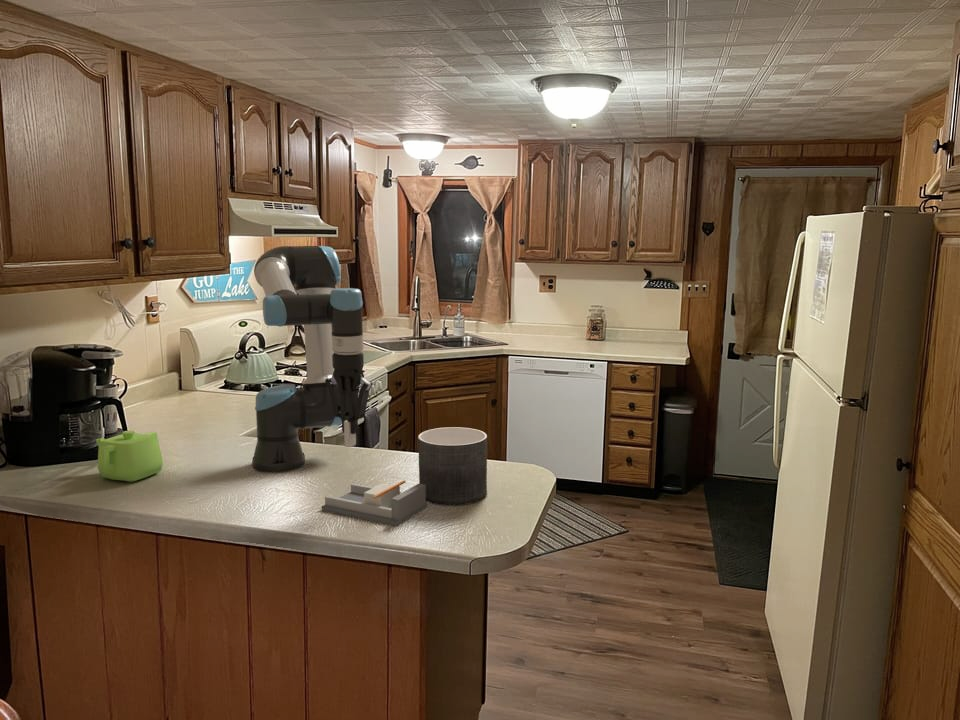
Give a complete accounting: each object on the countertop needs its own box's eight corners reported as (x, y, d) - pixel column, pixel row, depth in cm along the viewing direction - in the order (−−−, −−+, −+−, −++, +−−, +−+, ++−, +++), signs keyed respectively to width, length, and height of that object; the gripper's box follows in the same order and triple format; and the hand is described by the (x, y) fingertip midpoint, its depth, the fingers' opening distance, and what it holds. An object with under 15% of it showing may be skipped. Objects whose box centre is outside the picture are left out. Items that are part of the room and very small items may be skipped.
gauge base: (321, 510, 178) (321, 486, 177) (356, 492, 191) (355, 470, 190) (396, 526, 168) (396, 501, 167) (427, 506, 181) (427, 483, 180)
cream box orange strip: (354, 511, 174) (354, 492, 173) (385, 494, 186) (385, 477, 185) (375, 515, 171) (375, 496, 171) (405, 498, 183) (405, 480, 182)
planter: (437, 479, 201) (436, 424, 199) (497, 487, 195) (497, 431, 192) (406, 500, 185) (405, 440, 183) (470, 510, 178) (470, 448, 176)
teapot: (71, 482, 199) (67, 436, 197) (129, 462, 218) (125, 420, 215) (123, 490, 193) (119, 443, 191) (177, 468, 211) (174, 425, 209)
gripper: (316, 352, 176) (320, 445, 180) (360, 356, 170) (362, 453, 174) (336, 348, 183) (339, 438, 187) (378, 352, 177) (380, 445, 181)
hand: (350, 445), depth 180 cm, fingers closed
